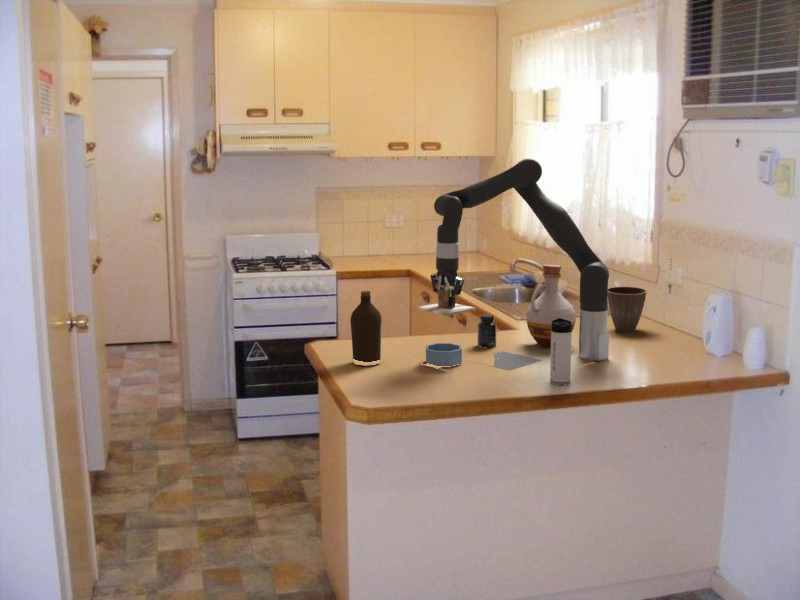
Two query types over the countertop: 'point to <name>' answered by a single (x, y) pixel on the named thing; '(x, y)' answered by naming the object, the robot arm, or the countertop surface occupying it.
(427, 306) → the lid
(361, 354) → the olive oil
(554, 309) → the jug
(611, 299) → the plant pot
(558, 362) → the travel mug
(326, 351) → the countertop surface
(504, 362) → the mat
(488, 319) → the supplement bottle
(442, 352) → the bowl
